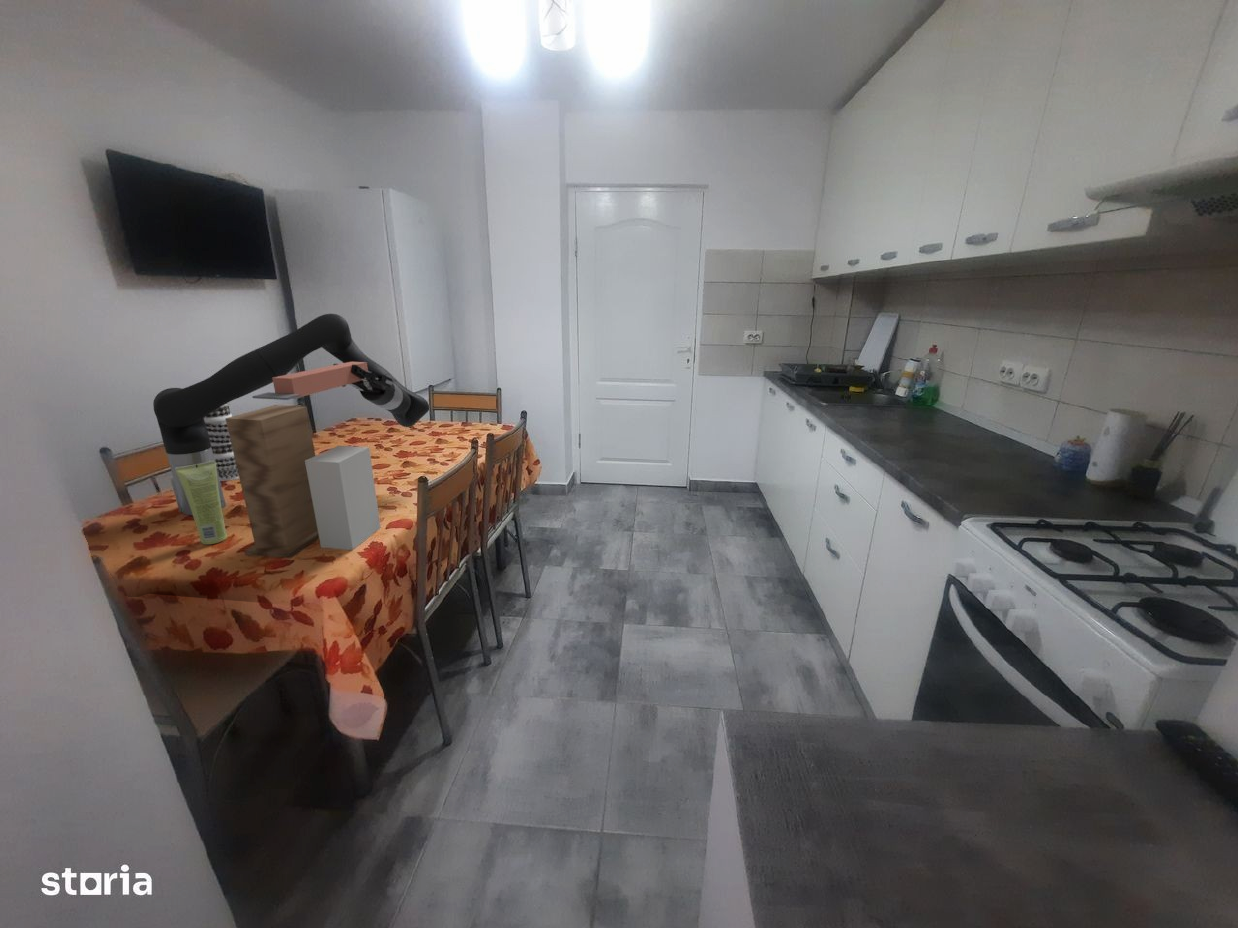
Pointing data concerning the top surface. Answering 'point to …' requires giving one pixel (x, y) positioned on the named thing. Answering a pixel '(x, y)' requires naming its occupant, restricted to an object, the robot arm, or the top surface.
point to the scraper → (312, 381)
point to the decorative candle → (221, 443)
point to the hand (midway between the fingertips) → (343, 368)
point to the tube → (204, 500)
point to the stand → (275, 478)
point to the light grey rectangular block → (343, 496)
